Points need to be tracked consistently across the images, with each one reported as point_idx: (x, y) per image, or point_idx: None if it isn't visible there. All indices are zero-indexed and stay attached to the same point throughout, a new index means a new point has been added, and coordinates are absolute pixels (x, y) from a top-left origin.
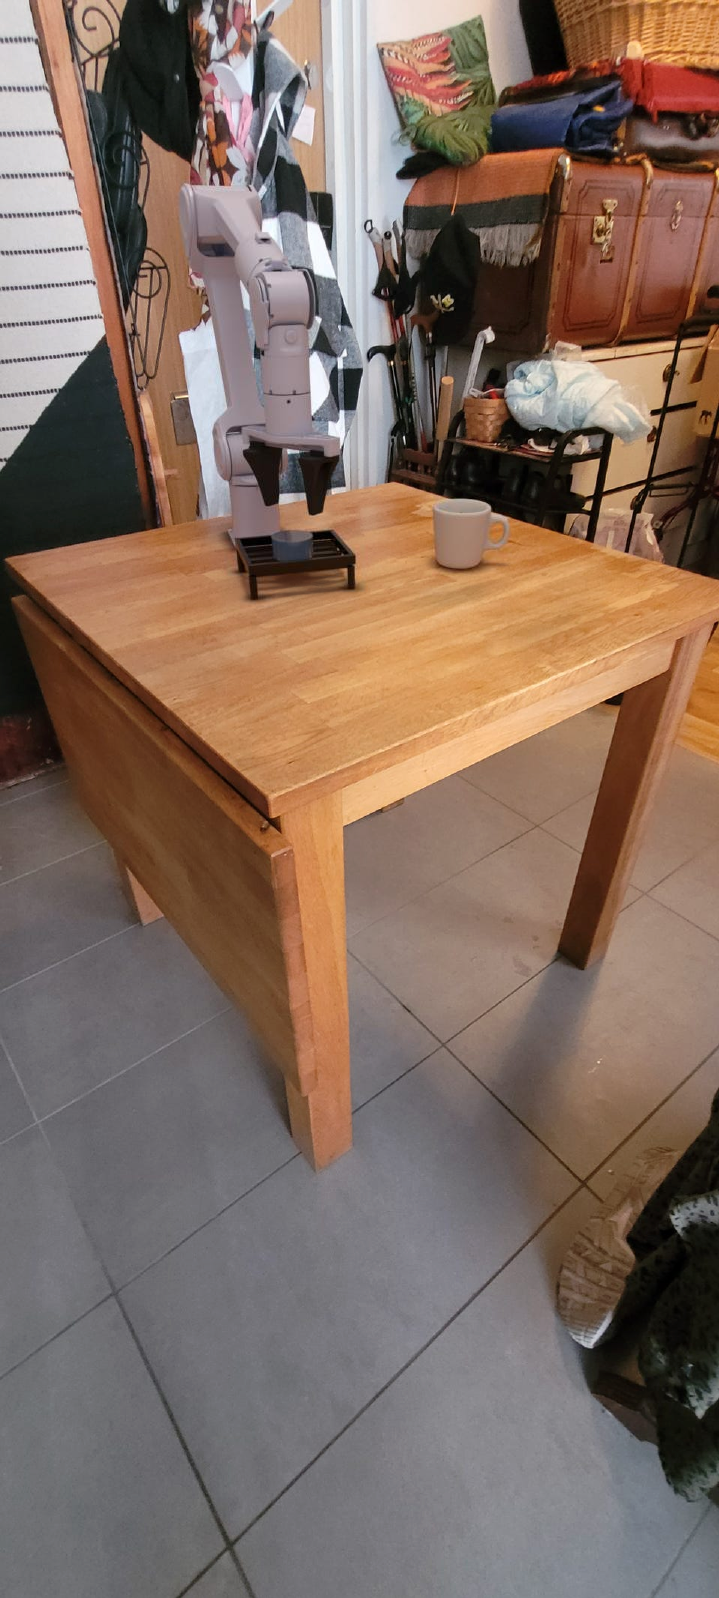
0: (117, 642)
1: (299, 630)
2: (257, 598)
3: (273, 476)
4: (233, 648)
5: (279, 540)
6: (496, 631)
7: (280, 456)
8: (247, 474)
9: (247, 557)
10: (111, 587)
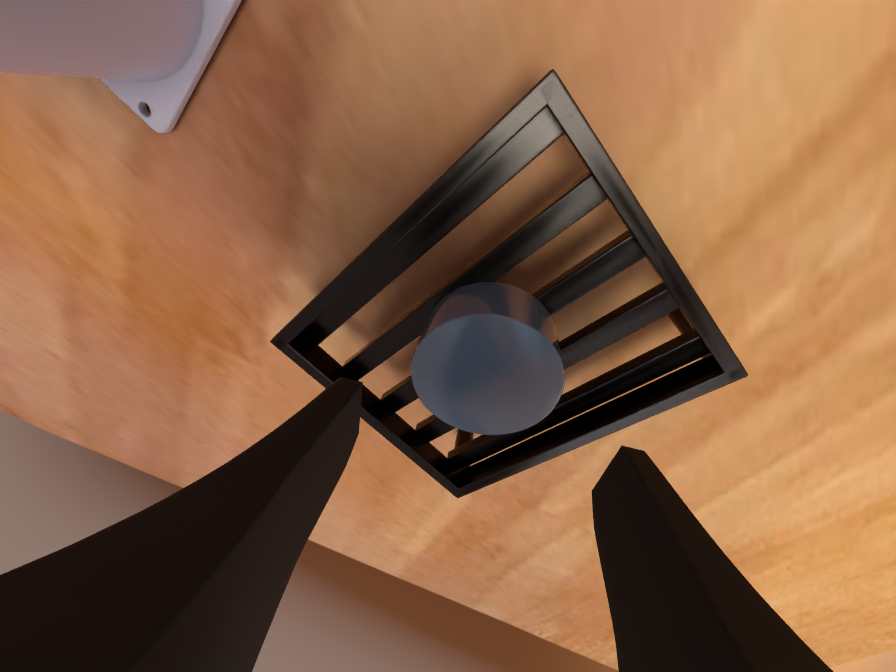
0: (386, 565)
1: None
2: None
3: (292, 507)
4: (540, 561)
5: (470, 427)
6: None
7: (199, 592)
8: None
9: (420, 459)
10: (201, 441)
